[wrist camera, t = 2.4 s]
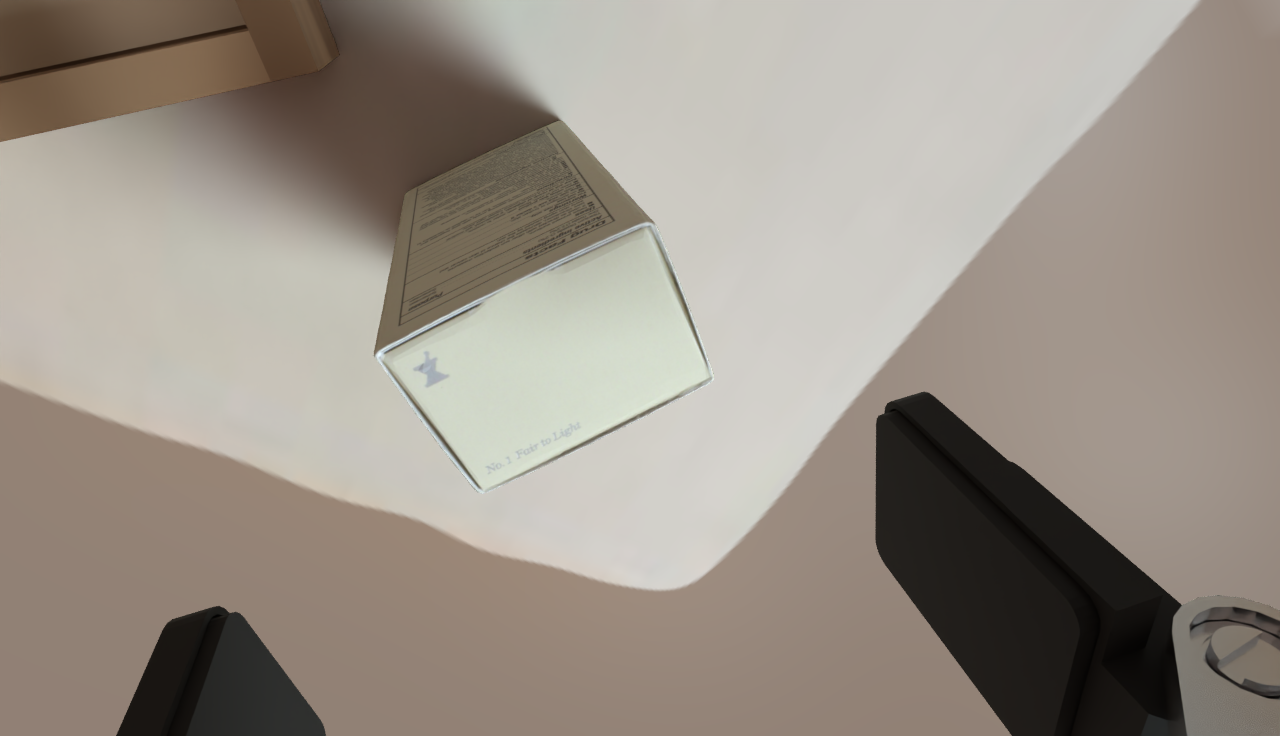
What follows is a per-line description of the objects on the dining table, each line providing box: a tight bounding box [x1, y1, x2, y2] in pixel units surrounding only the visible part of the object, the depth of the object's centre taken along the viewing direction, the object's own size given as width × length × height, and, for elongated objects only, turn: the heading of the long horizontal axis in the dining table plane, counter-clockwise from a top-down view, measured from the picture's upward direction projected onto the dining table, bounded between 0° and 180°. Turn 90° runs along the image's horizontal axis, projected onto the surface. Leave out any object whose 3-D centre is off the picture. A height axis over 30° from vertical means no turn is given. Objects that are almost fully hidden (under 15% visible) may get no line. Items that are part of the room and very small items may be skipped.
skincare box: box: [374, 121, 714, 494], centre depth 19 cm, size 6×4×12 cm
